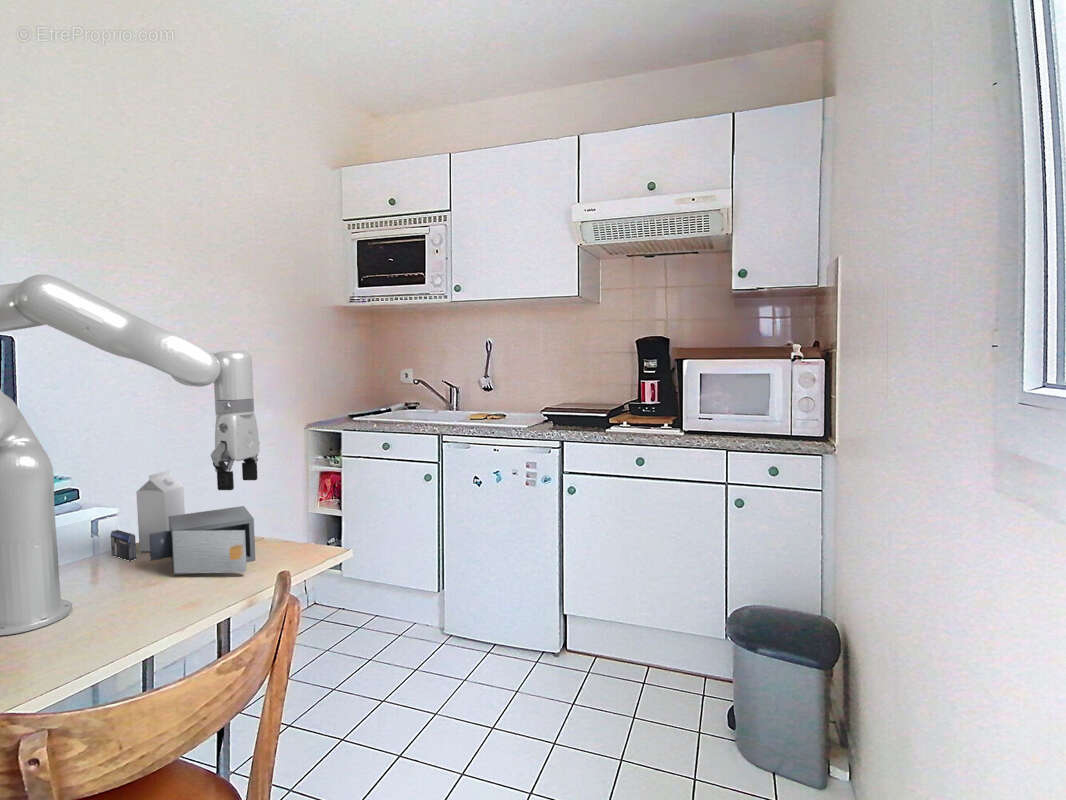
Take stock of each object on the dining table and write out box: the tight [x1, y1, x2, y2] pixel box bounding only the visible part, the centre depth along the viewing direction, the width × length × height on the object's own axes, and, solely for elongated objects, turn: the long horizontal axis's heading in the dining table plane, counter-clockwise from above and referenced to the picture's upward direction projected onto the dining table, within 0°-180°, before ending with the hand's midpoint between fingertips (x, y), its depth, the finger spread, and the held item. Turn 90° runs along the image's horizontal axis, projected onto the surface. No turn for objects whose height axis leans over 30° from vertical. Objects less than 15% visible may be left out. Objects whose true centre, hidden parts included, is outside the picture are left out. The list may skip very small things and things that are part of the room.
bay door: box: [172, 530, 248, 574], centre depth 121 cm, size 15×2×9 cm, turn 91°
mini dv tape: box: [110, 529, 137, 562], centre depth 134 cm, size 8×2×6 cm, turn 60°
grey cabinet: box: [149, 505, 256, 577], centre depth 131 cm, size 20×14×10 cm
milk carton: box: [136, 469, 186, 553], centre depth 141 cm, size 7×7×19 cm
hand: (238, 484), depth 124 cm, fingers open, 9 cm apart
